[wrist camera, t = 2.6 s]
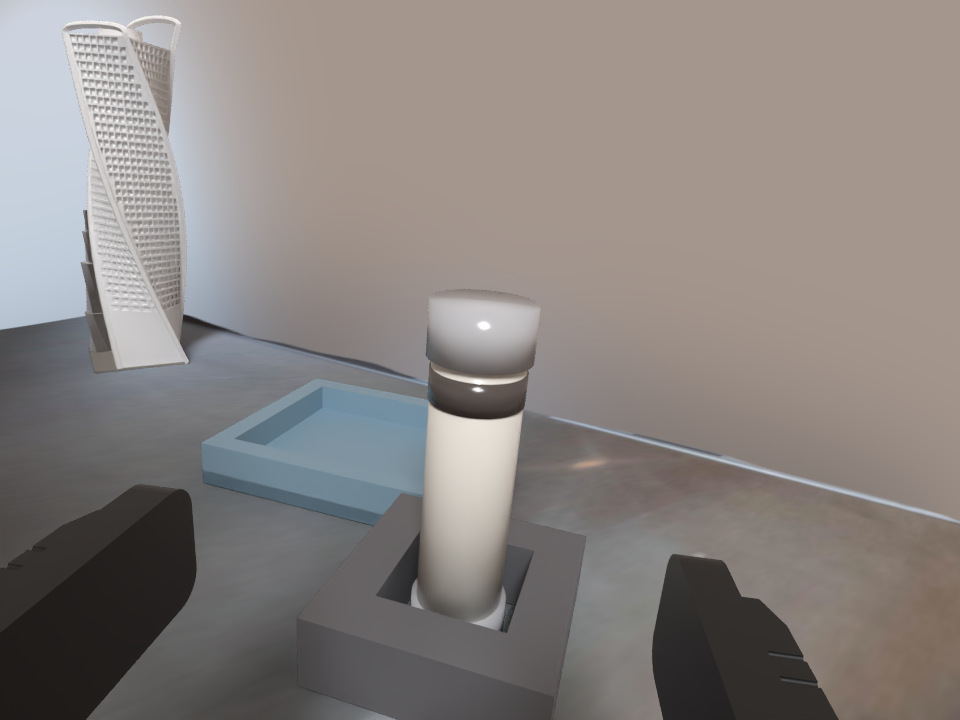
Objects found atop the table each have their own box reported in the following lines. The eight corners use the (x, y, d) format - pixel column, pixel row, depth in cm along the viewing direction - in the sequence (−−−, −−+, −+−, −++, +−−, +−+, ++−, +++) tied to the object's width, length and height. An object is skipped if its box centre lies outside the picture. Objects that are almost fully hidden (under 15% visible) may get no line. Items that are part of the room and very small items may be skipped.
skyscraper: (191, 343, 58) (169, 25, 49) (210, 368, 52) (189, 10, 43) (89, 352, 53) (45, 1, 44) (96, 381, 47) (47, -20, 38)
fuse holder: (297, 685, 21) (296, 617, 20) (399, 545, 29) (401, 492, 28) (542, 768, 19) (554, 696, 18) (577, 591, 27) (586, 536, 26)
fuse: (393, 653, 23) (411, 303, 19) (428, 591, 26) (450, 285, 22) (487, 682, 22) (528, 320, 18) (510, 614, 25) (549, 299, 21)
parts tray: (203, 482, 33) (201, 443, 32) (316, 409, 44) (316, 378, 44) (433, 541, 30) (436, 498, 29) (493, 445, 41) (497, 413, 40)
